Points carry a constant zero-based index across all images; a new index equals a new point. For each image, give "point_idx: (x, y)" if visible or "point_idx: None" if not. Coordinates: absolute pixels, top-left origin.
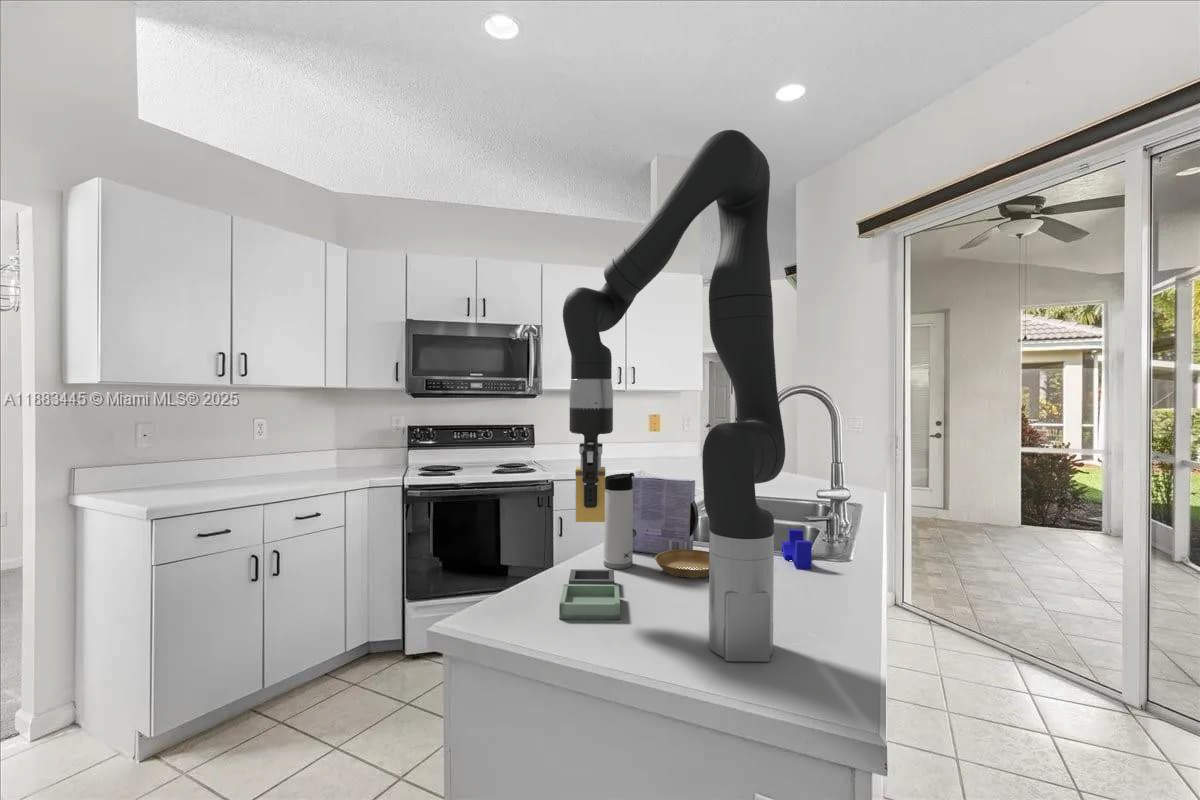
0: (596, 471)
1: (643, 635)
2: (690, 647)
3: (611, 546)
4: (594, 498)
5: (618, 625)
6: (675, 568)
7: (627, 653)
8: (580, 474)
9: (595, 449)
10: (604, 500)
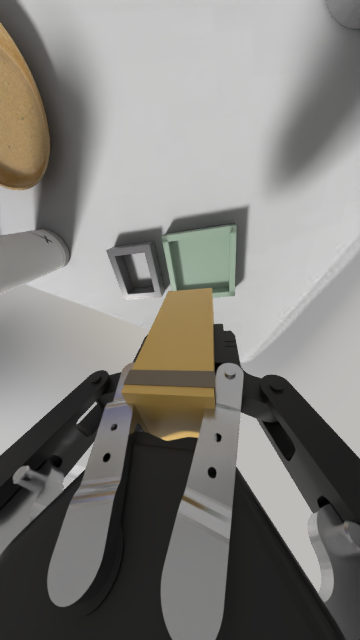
0: (329, 431)
1: (288, 181)
2: (351, 81)
3: (49, 263)
4: (232, 341)
5: (251, 222)
6: (49, 140)
7: (341, 198)
8: None
9: (334, 626)
10: (212, 314)
